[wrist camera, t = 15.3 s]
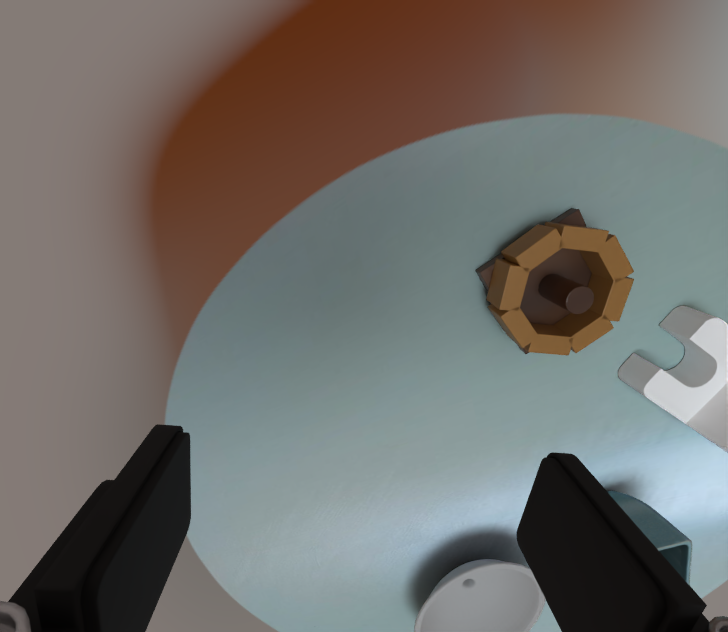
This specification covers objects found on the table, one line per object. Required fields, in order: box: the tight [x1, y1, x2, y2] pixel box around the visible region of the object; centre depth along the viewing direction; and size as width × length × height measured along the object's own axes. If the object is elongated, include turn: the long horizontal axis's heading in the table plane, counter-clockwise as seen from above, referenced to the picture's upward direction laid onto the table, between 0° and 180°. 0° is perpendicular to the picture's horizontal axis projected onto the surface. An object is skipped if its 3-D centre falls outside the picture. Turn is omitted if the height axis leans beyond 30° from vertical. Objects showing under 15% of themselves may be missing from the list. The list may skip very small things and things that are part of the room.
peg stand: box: [476, 208, 594, 354], centre depth 34 cm, size 10×10×6 cm
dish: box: [414, 559, 545, 632], centre depth 47 cm, size 18×14×5 cm
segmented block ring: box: [487, 222, 634, 355], centre depth 34 cm, size 11×11×3 cm
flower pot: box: [608, 491, 692, 586], centre depth 43 cm, size 9×9×9 cm
